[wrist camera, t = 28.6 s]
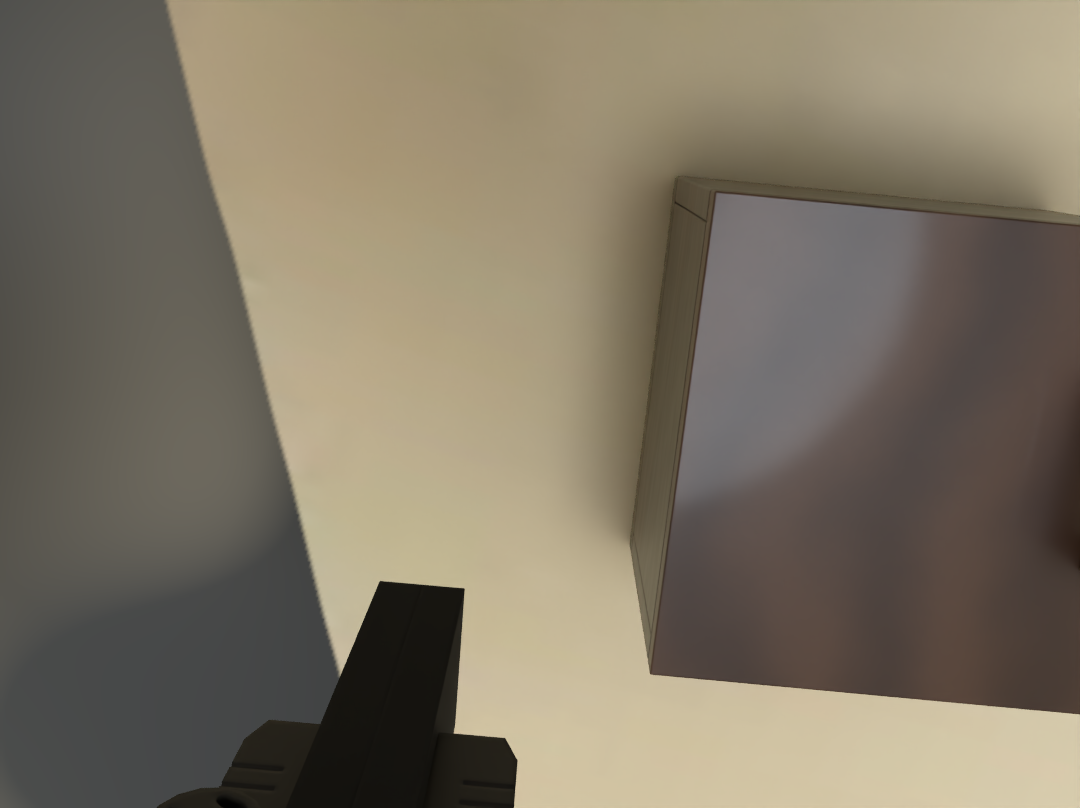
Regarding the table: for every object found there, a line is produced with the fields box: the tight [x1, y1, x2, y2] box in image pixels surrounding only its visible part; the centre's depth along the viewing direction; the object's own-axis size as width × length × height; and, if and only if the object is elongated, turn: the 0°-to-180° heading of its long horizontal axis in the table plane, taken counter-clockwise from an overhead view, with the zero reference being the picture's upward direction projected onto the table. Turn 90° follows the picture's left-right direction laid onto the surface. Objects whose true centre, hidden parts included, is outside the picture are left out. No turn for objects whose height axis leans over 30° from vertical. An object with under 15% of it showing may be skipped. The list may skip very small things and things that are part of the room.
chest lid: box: [648, 189, 1080, 714], centre depth 30 cm, size 16×16×5 cm
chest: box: [630, 176, 1080, 658], centre depth 37 cm, size 15×16×10 cm
